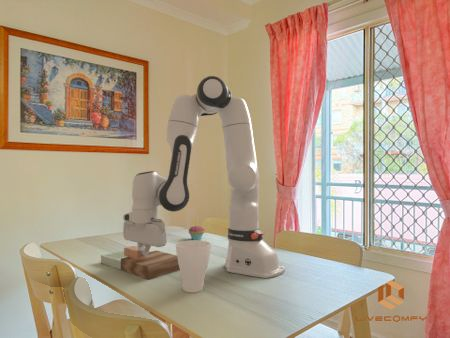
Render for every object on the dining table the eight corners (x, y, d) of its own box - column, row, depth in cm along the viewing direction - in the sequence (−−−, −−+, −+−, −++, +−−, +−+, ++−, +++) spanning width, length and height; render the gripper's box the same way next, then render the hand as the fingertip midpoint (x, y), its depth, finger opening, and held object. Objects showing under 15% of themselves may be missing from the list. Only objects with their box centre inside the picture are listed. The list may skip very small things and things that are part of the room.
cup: (217, 288, 95) (218, 243, 95) (191, 298, 87) (192, 249, 88) (194, 280, 102) (194, 238, 102) (168, 289, 94) (168, 243, 95)
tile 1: (139, 255, 118) (139, 247, 118) (130, 257, 115) (130, 249, 115) (133, 253, 120) (133, 245, 120) (124, 255, 117) (124, 247, 117)
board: (184, 268, 116) (184, 257, 116) (149, 279, 103) (149, 267, 103) (156, 260, 125) (156, 250, 126) (120, 269, 113) (120, 258, 113)
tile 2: (146, 257, 115) (146, 248, 115) (137, 259, 112) (137, 250, 112) (139, 255, 118) (139, 247, 118) (130, 257, 114) (130, 249, 115)
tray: (156, 260, 125) (156, 253, 126) (120, 269, 113) (120, 261, 113) (136, 255, 134) (136, 248, 134) (100, 263, 121) (101, 255, 121)
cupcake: (187, 238, 170) (187, 216, 170) (202, 237, 172) (202, 215, 172) (190, 241, 161) (190, 218, 162) (206, 240, 164) (206, 217, 164)
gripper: (171, 218, 109) (170, 259, 109) (134, 213, 121) (134, 249, 121) (156, 220, 104) (156, 263, 104) (120, 215, 117) (119, 252, 116)
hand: (143, 255), depth 113 cm, fingers closed
